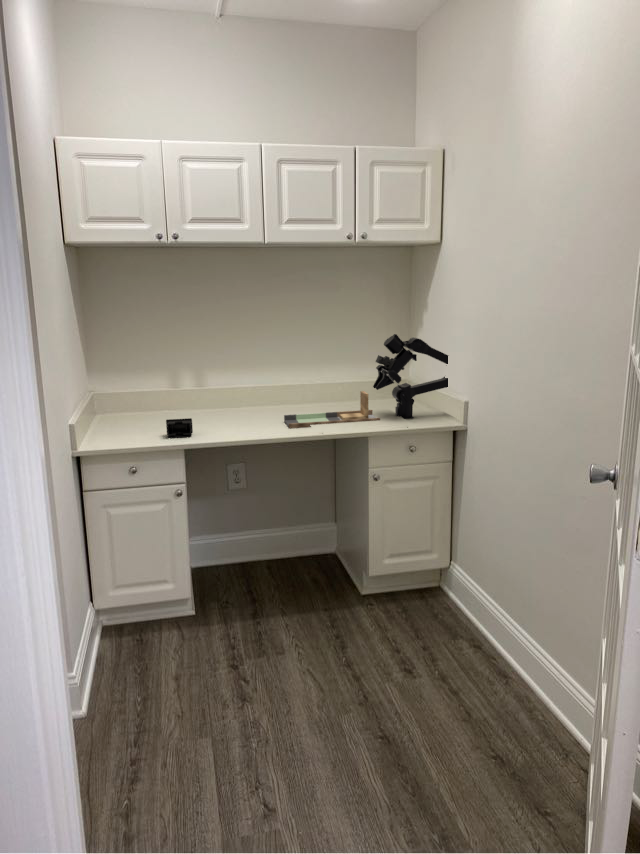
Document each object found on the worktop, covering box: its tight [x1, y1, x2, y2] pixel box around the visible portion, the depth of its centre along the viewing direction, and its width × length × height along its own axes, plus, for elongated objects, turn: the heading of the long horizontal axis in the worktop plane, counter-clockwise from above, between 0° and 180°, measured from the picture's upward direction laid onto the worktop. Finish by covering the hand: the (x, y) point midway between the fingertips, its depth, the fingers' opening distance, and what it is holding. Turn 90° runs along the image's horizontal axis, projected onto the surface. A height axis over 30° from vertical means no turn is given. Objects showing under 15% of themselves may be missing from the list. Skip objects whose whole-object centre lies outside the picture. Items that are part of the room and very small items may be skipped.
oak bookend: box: [339, 390, 369, 420], centre depth 282 cm, size 11×7×11 cm, turn 102°
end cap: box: [165, 417, 194, 439], centre depth 262 cm, size 10×7×7 cm
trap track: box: [283, 409, 377, 429], centre depth 282 cm, size 39×11×3 cm, turn 102°
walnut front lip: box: [288, 417, 381, 429], centre depth 276 cm, size 39×1×2 cm, turn 102°
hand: (375, 388), depth 282 cm, fingers open, 4 cm apart
